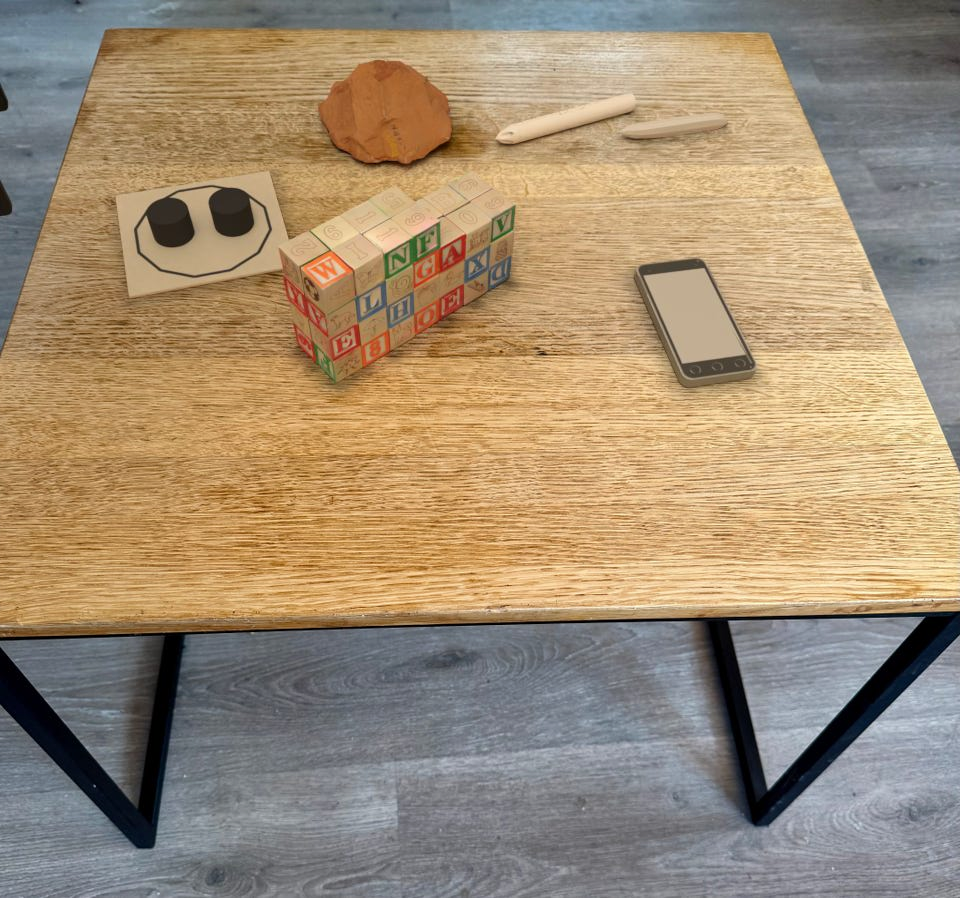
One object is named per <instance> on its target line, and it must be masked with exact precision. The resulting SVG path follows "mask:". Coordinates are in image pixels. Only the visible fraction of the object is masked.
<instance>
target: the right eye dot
mask: <svg viewBox="0 0 960 898" xmlns="http://www.w3.org/2000/svg"><path fill="white" fill-rule="evenodd" d="M208 204H209V208H210V212H211V215H212V219H213V223H214V227H215V229H216V231H217V232H218V233H220V234H221V235H224V236H227V237H237V236H241V235H244V234H246V233H248V232H249V231H250V230H251V229H252V228H253V226H254V217H253V213H252V208H251V203H250V199H249V196H248V194H247V193H246V192H245V191H243V190H241V189H239V188H223V189H220V190H218V191H216V192H214V193H213V194H212V195H211V196H210V198H209V201H208Z"/></svg>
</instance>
